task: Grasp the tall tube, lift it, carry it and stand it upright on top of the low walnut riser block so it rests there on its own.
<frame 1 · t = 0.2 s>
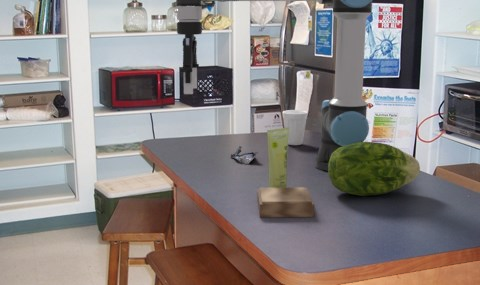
hand: (190, 91, 193), 28 cm above the table, fingers open, 13 cm apart
cup: (294, 144, 248), on the table
tube: (277, 195, 181), on the table
lettuce: (373, 194, 182), on the table
riser: (284, 208, 169), on the table
snack package: (244, 161, 223), on the table
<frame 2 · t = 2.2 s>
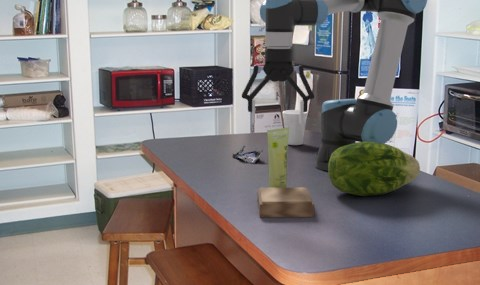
hand: (277, 123, 177), 21 cm above the table, fingers open, 13 cm apart
snack package: (247, 160, 224), on the table
everything else where it was.
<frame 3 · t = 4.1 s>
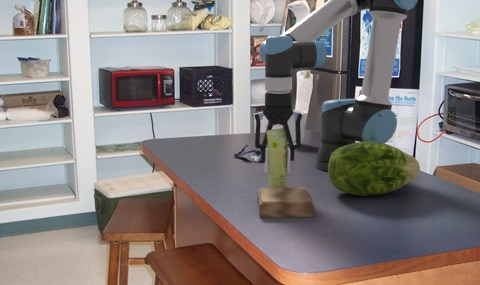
hand: (277, 171, 180), 7 cm above the table, fingers closed on tube, 6 cm apart
tube: (277, 195, 181), on the table, touching gripper
snack package: (250, 159, 225), on the table
everything else where it was.
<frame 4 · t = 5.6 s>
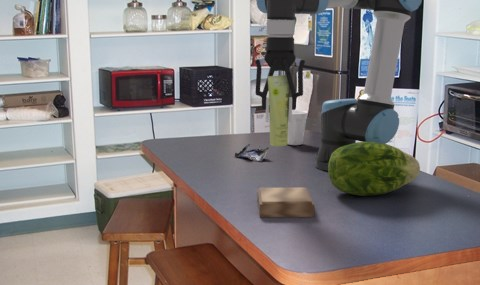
hand: (278, 120, 173), 22 cm above the table, fingers closed on tube, 6 cm apart
tube: (277, 145, 175), point 15 cm above the table, touching gripper
snack package: (251, 159, 226), on the table
everything else where it was.
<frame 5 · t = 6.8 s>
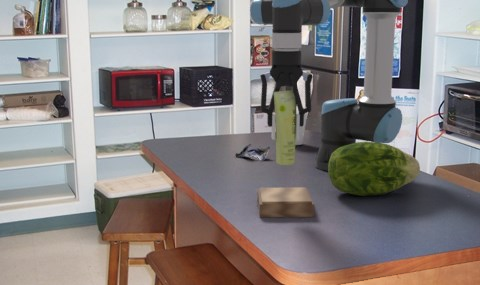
hand: (285, 138, 165), 19 cm above the table, fingers closed on tube, 6 cm apart
tube: (284, 164, 166), point 12 cm above the table, touching gripper
when the fingers open (12 cm above the table, at t = 8.3 s): tube stays where it is, resting on riser.
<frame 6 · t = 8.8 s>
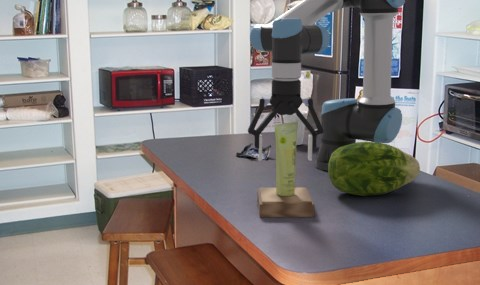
hand: (285, 159, 166), 14 cm above the table, fingers open, 12 cm apart
tube: (284, 194, 168), point 4 cm above the table, touching riser
snack package: (253, 157, 228), on the table
everything else where it was.
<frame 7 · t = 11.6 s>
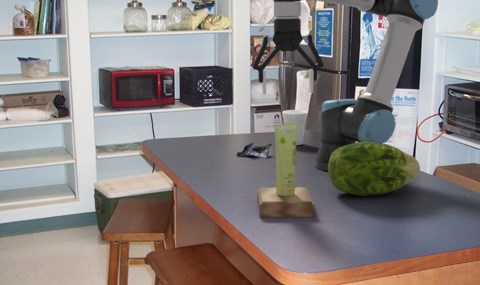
hand: (287, 93, 180), 29 cm above the table, fingers open, 13 cm apart
snack package: (253, 156, 230), on the table
everything else where it was.
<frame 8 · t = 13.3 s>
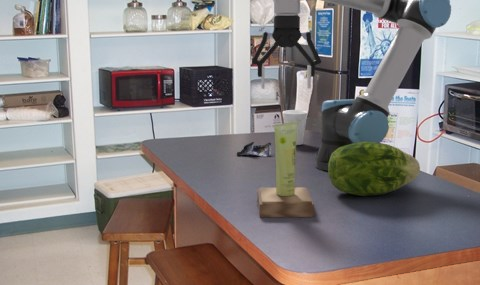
hand: (285, 88, 185), 30 cm above the table, fingers open, 13 cm apart
snack package: (253, 156, 231), on the table
everything else where it was.
at the end: tube inside the target area on the riser (0.0 cm from its centre), point 3.8 cm above the riser's base; tube tilted 0°; the gripper is holding nothing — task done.
